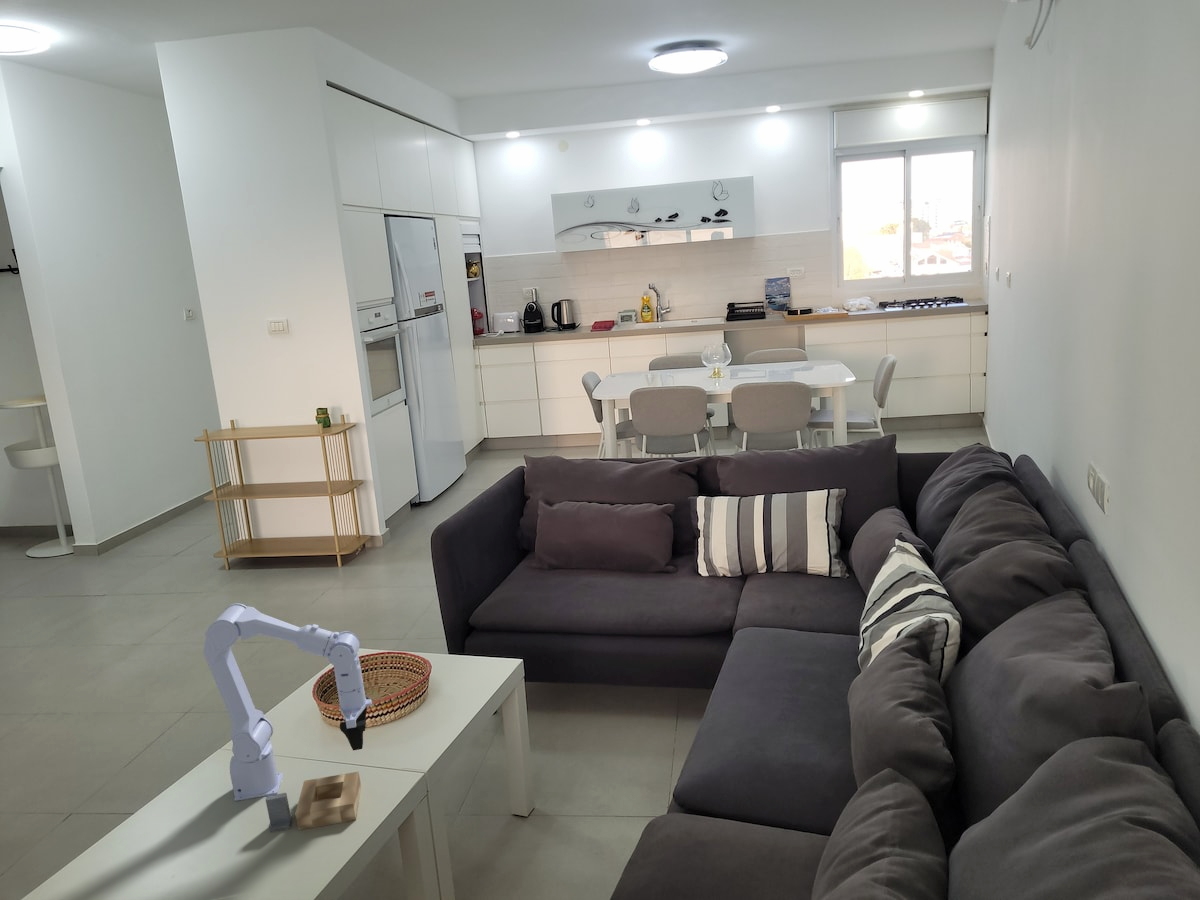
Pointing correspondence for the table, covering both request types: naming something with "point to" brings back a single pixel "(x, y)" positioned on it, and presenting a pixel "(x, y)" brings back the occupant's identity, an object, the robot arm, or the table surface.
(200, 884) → the table surface
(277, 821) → the grey block
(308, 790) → the well block
